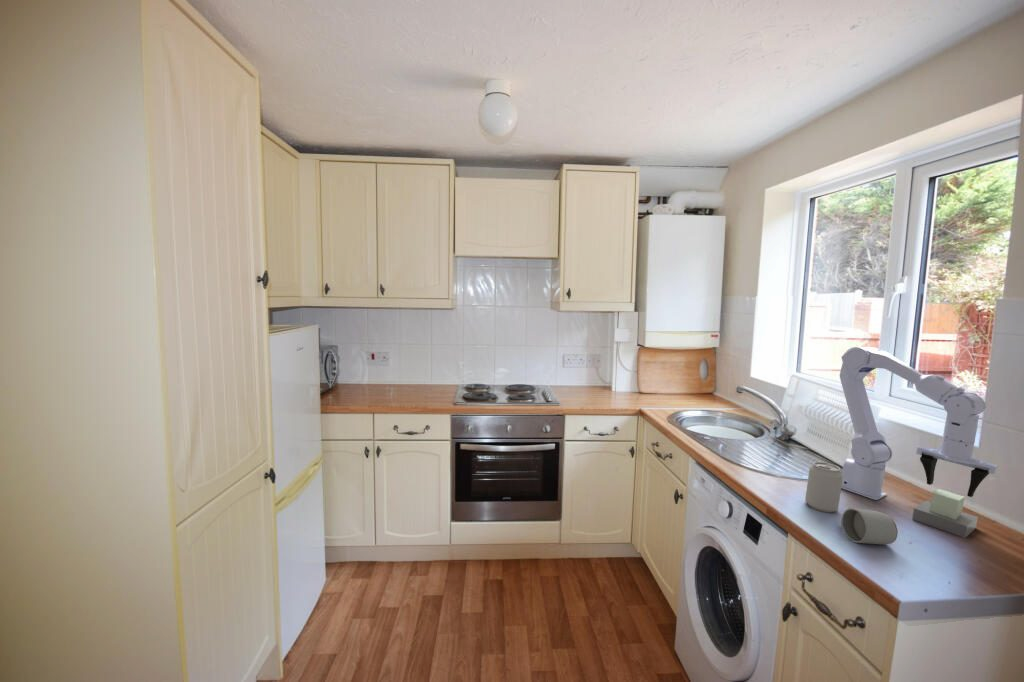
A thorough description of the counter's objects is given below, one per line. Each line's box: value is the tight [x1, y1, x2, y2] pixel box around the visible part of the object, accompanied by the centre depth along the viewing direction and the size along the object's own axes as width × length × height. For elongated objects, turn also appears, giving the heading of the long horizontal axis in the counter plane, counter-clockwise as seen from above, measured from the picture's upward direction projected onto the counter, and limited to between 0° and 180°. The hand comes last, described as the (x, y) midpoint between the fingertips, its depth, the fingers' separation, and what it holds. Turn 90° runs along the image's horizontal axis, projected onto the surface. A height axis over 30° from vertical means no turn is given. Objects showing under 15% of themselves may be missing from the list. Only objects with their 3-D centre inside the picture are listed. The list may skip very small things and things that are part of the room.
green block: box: [929, 488, 965, 519], centre depth 113 cm, size 5×5×5 cm
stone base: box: [912, 500, 979, 539], centre depth 114 cm, size 10×10×3 cm
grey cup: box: [840, 507, 899, 545], centre depth 104 cm, size 11×8×8 cm
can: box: [805, 461, 843, 513], centre depth 119 cm, size 8×8×12 cm
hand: (949, 489), depth 113 cm, fingers open, 7 cm apart
